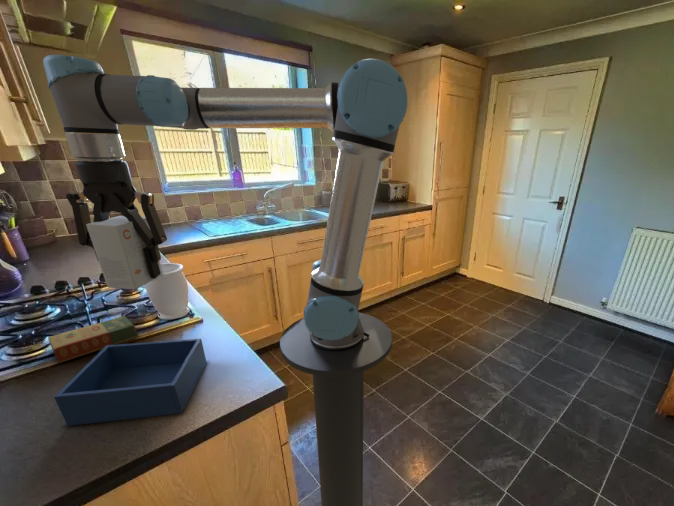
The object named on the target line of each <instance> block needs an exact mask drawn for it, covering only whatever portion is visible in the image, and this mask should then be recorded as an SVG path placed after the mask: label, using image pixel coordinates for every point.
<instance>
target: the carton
mask: <svg viewBox="0 0 674 506" xmlns="http://www.w3.org/2000/svg"><path fill="white" fill-rule="evenodd" d="M138 337H139V334H138V331H137V329H136V327H135V325H134V324H133V323H132V322H131V320H130V319H128V318H127V317H126V315H122V316H119V317H115V318H110V319H107V320H104V321H101V322H98V323H93V324H90V325H86V326H83V327H79V328H75V329H72V330H69V331H65V332H62V333H58V334H55V335H51V336H48V337H47V339H48V343H49V345H50V347H51V349H52V352H53V354H54V356H55V358H56V360H57V362H58V363H60V364H61V363H64V362H67V361H70V360H73V359H75V358H79V357H81V356H85V355H88V354H91V353H94V352H96V351H101V350H102V349H103V348H104V347H105V346H106V345H119V344H124V343H126V342H129V341H133V340H135V339H137V338H138Z"/></svg>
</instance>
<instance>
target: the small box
mask: <svg viewBox="0 0 674 506" xmlns="http://www.w3.org/2000/svg"><path fill="white" fill-rule="evenodd" d="M141 217H142V219H143V220H144V221H145V223H146V224H147V226H148V227H149V225H148V222H147V220H146V217H145V216H141ZM86 226H87V229H88V232H89V235H90V238H91V241H92V243H93V246H94V249H95V251H94V253H95V252H96V254H95V256H96V255H97V257H96V259H97V258H98V260H97V262H98V261H99V262H98V264H99V266H100V269H101V272H102V275H103V279H104V281H105V284H106V287H107V288H108V289H109V288H110V289H122V290H123V289H124V290H138V289H140V288H141V287H144V286H145V284H147V283H149V282H151V281H153V280H155V279H156V278H158V277H160V276H162V275H163V272H162V269H161V265H160V264H161V260H160V261H158V265H159V269H160V273H161V274H160V275H159V276H157V277H156V278H154V279H151V276H150V273H149V269H148V266H147V262H146V258H145V255H144V251H143V248H145V247H146V244H145V243H144V242H143V240H142V239H141V237H140V236H139V235H138V233H137V232H136V230H135V229H134V227H133V223H132V222H129V221H128V219H127V218H126V217H124V216H123V215H118V216H114V217H109V219H107V220H104V221H102V222H93V221H92V222H91V223H89V224H86ZM149 229H150V227H149ZM94 249H93V250H94Z"/></svg>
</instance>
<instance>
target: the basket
mask: <svg viewBox="0 0 674 506" xmlns="http://www.w3.org/2000/svg"><path fill="white" fill-rule="evenodd" d="M206 358H207V357H206V354H205V349H204V345H203V341H202V338H188V339H177V340H161V341H160V340H159V341H150V342H149V341H147V342H134V343H119V344H116V345H106V346H105V347H104V348H103V349H100V350H99V352H98V353H97V354H96V355H95V356H94V357H93V358H92V359H91V360H90V361H89V362H87V364H86V365H84V366H83V368H82V369H81V370H80V371H79V372H78V373H77V374H75V375H74V377H72V378H71V380H70V381H68V382H67V384H65V385H64V386H63V388H62V389H60V390H59V391H58V392H57V393H56V394H55V395H54V396H53V398H54V400H55V402H56V403H55V404H57V406H58V408H59V411H60V413H61V416H62V417H63V419H64V421H65V423H66V426H68V427H70V426H79V425H88V424H89V425H90V424H98V423H106V422H117V421H124V420H133V419H134V420H135V419H142V418H150V417H151V418H152V417H160V416H161V417H162V416H169V415H178V414H183V412H185V408H186V406H187V404H188V402H189V400H190V398H191V396H192V394H193V392H194V390H195V388H196V385H197V384H198V382H199V380H200V377H201V375H202V373H203V371H204V370H205V367H206V365H207V359H206Z"/></svg>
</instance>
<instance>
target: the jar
mask: <svg viewBox="0 0 674 506" xmlns="http://www.w3.org/2000/svg"><path fill="white" fill-rule="evenodd" d="M160 265H161V269H162V272H163V275H162V276H160V277H158V278H156V279H155V280H153V281H151V282H149V283H147V284H145V285H144V286H145V291H146V294H147V296H148V298H149V300H150V302H151V304H152V306H153V308H154V309H155V310H156V311H157V312H158V313H159V314H160V316H159V315H158V314H157V317H158V318H159V319H160V320H165V321H166V320H167V321H169V320H176V319H180V318H182V317H184V316H186V315H188V314H189V313H190V307H188V305H189V301H190V300H189V285H188V280H187V278H186V275H185V274H184V269H185V268H184V265H183V264H181V263H176V262H167V263H166V262H165V263H160Z"/></svg>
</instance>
